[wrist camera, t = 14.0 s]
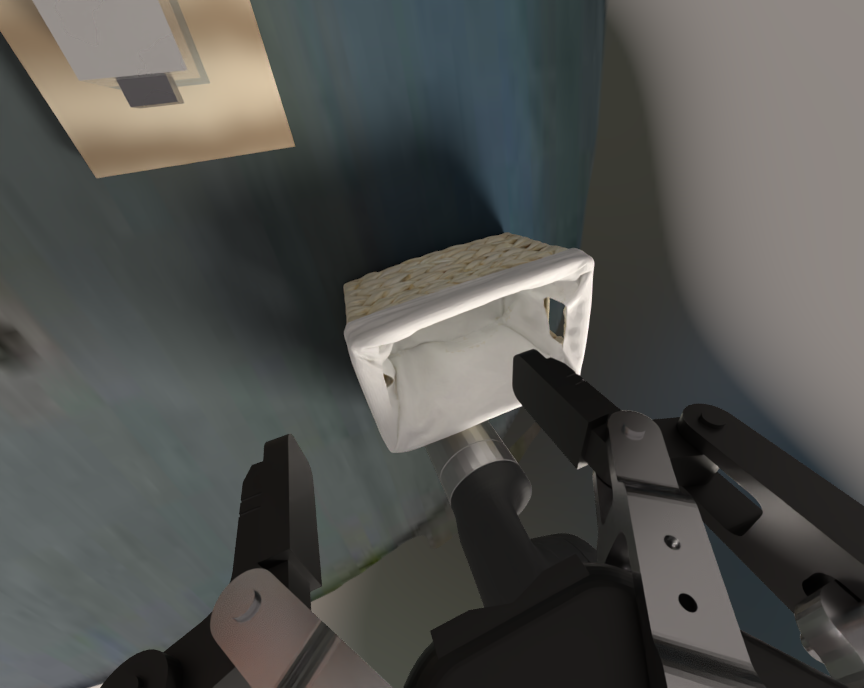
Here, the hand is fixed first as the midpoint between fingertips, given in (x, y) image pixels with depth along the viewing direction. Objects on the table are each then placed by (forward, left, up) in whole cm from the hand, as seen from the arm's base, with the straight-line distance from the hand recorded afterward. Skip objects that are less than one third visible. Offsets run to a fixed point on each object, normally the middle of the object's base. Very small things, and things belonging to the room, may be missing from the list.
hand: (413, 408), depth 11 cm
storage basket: (-12, -10, -28) cm, 33 cm away
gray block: (+14, +8, -25) cm, 30 cm away
